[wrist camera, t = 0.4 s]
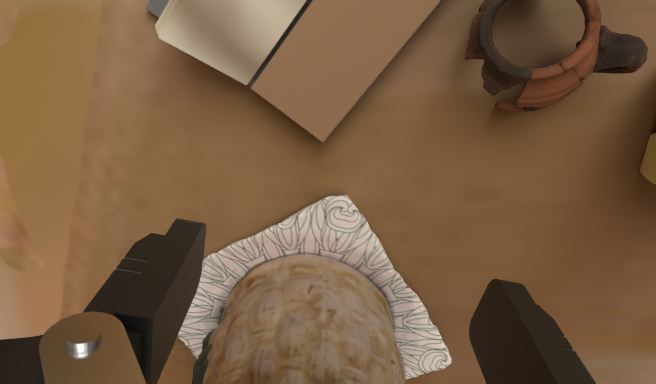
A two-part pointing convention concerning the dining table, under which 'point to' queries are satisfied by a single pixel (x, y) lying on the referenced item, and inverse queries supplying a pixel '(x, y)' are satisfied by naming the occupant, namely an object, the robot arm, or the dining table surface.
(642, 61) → the pottery mug
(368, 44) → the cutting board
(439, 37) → the dining table surface
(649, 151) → the cheese
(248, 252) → the cookie jar
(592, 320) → the dining table surface
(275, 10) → the plank
